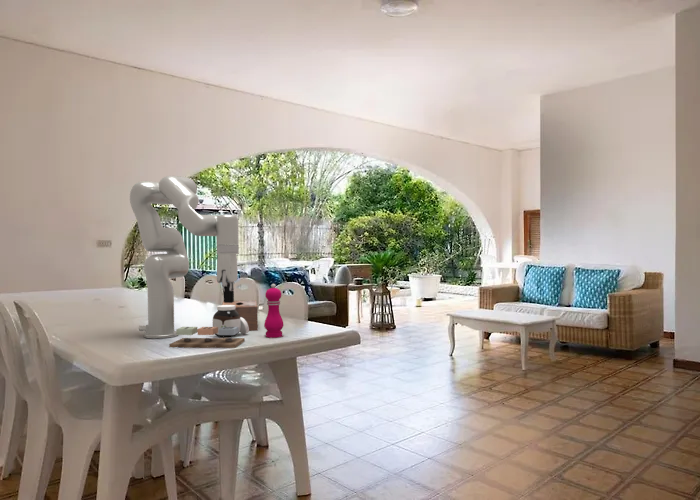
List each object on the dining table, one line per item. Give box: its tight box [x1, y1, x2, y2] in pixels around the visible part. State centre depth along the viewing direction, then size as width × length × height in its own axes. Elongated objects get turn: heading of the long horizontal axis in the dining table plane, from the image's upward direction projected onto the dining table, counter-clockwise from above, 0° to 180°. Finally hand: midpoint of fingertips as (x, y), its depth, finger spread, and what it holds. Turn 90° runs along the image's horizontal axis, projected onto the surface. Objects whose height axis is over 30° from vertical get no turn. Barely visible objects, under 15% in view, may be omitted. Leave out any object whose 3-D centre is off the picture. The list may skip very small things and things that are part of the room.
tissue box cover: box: [221, 299, 259, 332], centre depth 234 cm, size 26×14×10 cm, turn 11°
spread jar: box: [212, 304, 250, 338], centre depth 212 cm, size 12×11×12 cm
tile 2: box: [197, 326, 218, 336], centre depth 194 cm, size 6×6×2 cm
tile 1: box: [175, 326, 198, 336], centre depth 194 cm, size 6×6×2 cm
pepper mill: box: [264, 283, 284, 339], centre depth 209 cm, size 7×7×20 cm
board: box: [168, 337, 246, 349], centre depth 194 cm, size 23×12×2 cm, turn 86°
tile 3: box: [219, 327, 240, 335], centre depth 193 cm, size 6×6×2 cm
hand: (228, 302), depth 193 cm, fingers closed
